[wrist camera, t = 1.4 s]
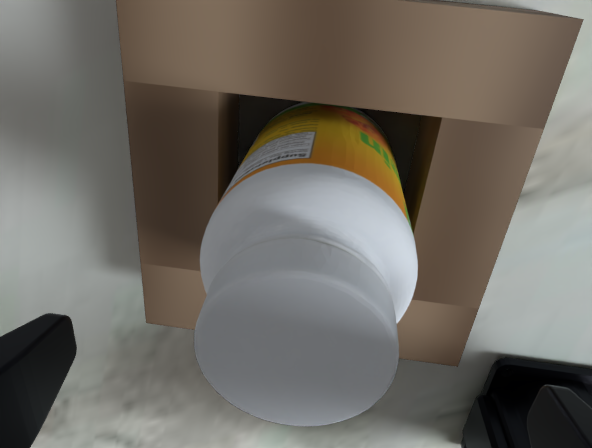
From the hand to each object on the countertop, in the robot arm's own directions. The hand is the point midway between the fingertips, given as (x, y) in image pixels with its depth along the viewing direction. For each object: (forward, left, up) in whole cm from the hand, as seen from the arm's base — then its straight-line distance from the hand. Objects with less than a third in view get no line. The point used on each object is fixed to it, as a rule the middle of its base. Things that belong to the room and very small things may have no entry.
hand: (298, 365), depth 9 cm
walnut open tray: (0, 0, -10) cm, 10 cm away
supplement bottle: (0, 0, -10) cm, 10 cm away
